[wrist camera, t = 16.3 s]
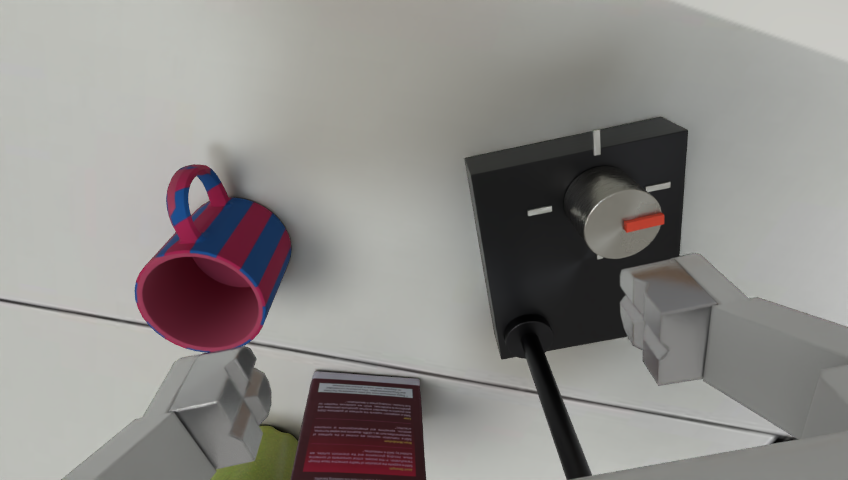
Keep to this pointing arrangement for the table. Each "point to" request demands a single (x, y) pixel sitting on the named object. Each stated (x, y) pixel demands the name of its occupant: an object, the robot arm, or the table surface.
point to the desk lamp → (547, 388)
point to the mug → (213, 268)
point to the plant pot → (265, 459)
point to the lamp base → (568, 227)
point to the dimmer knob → (612, 212)
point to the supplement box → (361, 429)
